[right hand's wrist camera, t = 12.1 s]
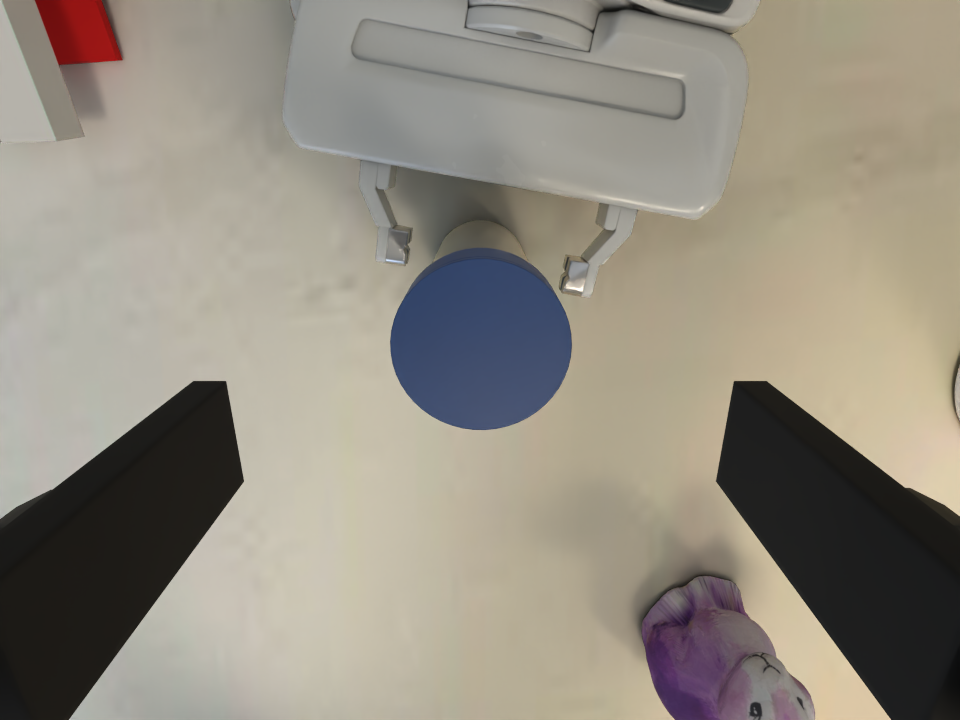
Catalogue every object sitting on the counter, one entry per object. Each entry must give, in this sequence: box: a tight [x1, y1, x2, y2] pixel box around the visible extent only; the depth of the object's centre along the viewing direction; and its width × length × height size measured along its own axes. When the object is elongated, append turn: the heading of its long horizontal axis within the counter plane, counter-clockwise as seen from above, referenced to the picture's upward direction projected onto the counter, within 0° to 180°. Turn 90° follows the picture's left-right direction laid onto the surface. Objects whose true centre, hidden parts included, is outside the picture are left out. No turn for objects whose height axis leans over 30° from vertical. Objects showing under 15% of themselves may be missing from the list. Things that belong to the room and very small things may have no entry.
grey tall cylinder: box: [432, 220, 528, 263], centre depth 26 cm, size 6×6×16 cm
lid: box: [390, 248, 572, 430], centre depth 20 cm, size 6×6×2 cm
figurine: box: [642, 576, 815, 720], centre depth 36 cm, size 9×10×15 cm
